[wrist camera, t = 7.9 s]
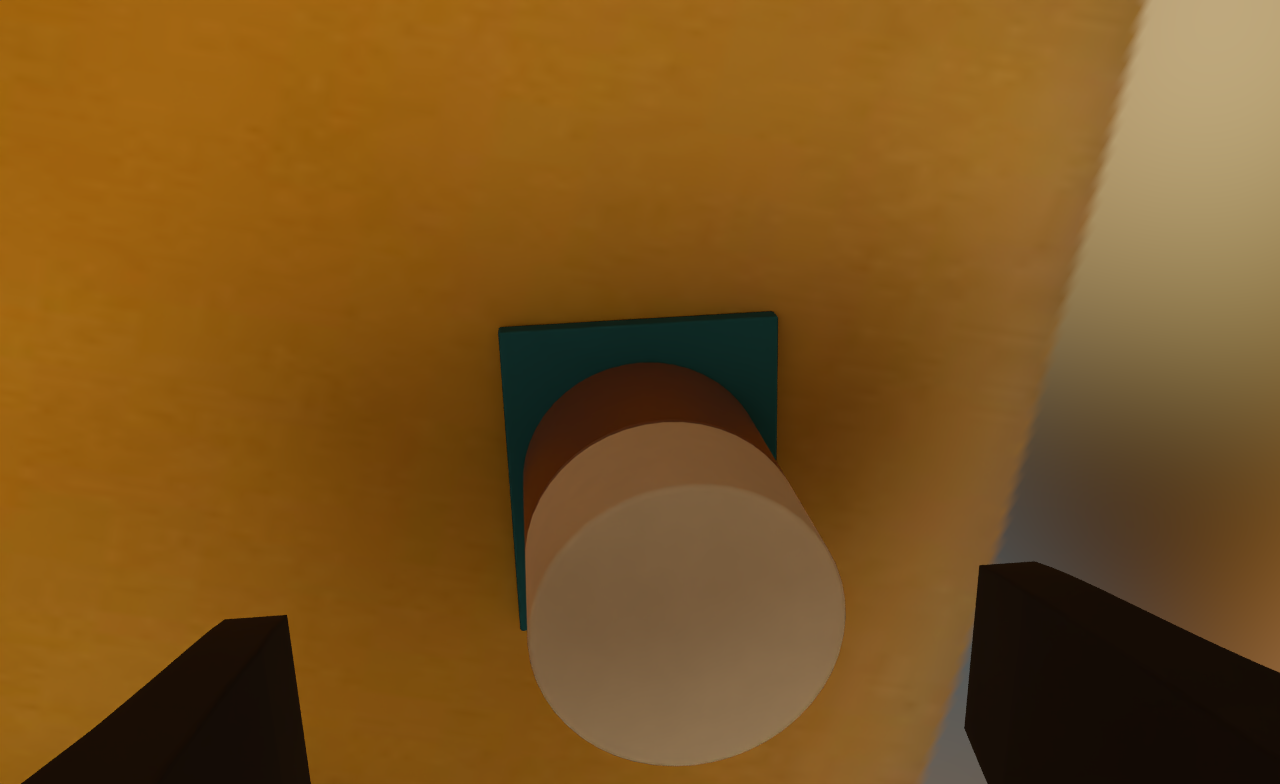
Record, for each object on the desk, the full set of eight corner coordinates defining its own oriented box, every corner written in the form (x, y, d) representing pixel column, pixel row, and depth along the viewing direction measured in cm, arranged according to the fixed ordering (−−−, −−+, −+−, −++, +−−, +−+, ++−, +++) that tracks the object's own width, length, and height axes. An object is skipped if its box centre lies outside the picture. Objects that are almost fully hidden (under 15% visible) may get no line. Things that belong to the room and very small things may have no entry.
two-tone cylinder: (762, 575, 22) (842, 753, 16) (530, 593, 21) (537, 783, 16) (764, 353, 20) (852, 473, 15) (514, 369, 20) (516, 498, 14)
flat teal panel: (770, 600, 22) (775, 610, 22) (520, 620, 22) (520, 632, 21) (773, 310, 20) (778, 316, 20) (498, 326, 20) (497, 332, 19)
